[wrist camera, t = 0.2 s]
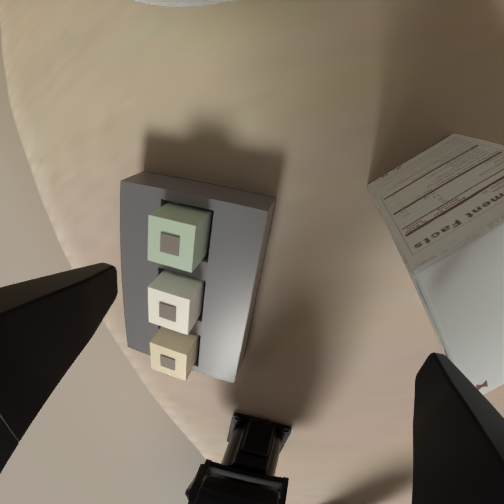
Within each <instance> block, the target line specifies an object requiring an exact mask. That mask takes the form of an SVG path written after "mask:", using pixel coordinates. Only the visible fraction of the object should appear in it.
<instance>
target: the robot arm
mask: <svg viewBox="0 0 504 504" xmlns="http://www.w3.org/2000/svg"><path fill="white" fill-rule="evenodd" d="M117 292H118V288H117V271H116V268H115V267H114V266H112V265H109V264H107V263H98V264H94V265H90V266H86V267H82V268H77V269H73V270H69V271H65V272H61V273H57V274H53V275H49V276H45V277H40V278H37V279H32V280H28V281H25V282H20V283H17V284H13V285H9V286H5V287H1V288H0V473H1V471H2V470H3V468H4V466H5V464H6V463H7V461H8V460H9V458H10V456H11V455H12V453H13V452H14V450H15V448H16V447H17V445H18V442H19V441H20V440H21V438H22V437H23V435H24V434H25V432H26V431H27V429H28V427H29V426H30V424H31V423H32V421H33V420H34V418H35V417H36V415H37V414H38V412H39V411H40V409H41V408H42V406H43V405H44V403H45V402H46V400H47V399H48V397H49V396H50V395H51V393H52V392H53V390H54V389H55V387H56V386H57V385H58V383H59V382H60V380H61V379H62V377H63V376H64V375H65V373H66V372H67V370H68V369H69V368H70V366H71V365H72V364H73V362H74V361H75V359H76V358H77V357H78V355H79V354H80V353H81V351H82V350H83V349H84V347H85V346H86V345H87V343H88V342H89V340H90V339H91V338H92V336H93V335H94V333H95V331H96V330H97V328H98V327H99V325H100V323H101V322H102V320H103V318H104V317H105V315H106V313H107V312H108V310H109V308H110V307H111V305H112V304H113V302H114V300H115V299H116V296H117ZM290 433H291V427H290V426H286V425H282V424H278V423H273V422H269V421H265V420H261V419H257V418H253V417H250V416H246V415H242V414H239V413H234V414H233V417H232V421H231V425H230V430H229V434H228V438H227V441H228V442H229V443H228V446H227V449H226V452H225V455H224V457H223V460H222V463H221V464H219V463H216V462H212V461H211V460H208V459H207V460H206V462H205V464H201V465H200V467H199V470H198V472H197V474H196V477H195V478H194V480H193V481H192V483H191V484H190V485H189V487H188V488H187V490H186V493H185V494H186V496H187V498H188V504H285V501H286V494H287V487H288V480H289V478H286V477H283V478H282V477H276V476H274V475H275V470H276V466H277V462H278V457H279V453H280V452H281V450H282V448H283V446H284V444H285V442H286V440H287V438H288V437H289V435H290ZM412 504H504V418H503V417H502V416H501V415H500V413H499V412H498V411H497V410H496V409H495V408H494V407H493V406H492V404H491V403H490V402H489V401H488V400H487V399H486V398H485V397H484V396H483V395H482V393H481V392H480V391H479V390H478V389H477V388H476V387H475V386H474V385H473V384H472V383H471V382H470V381H469V379H468V378H467V377H466V376H465V375H464V374H463V373H462V372H461V371H460V370H459V369H458V368H457V367H456V366H455V365H454V364H453V363H452V362H451V361H450V360H449V358H448V357H447V356H446V355H444V354H439V353H431V354H430V355H429V356H428V358H427V359H426V361H425V362H424V364H423V365H422V367H421V369H420V370H419V372H418V373H417V376H416V379H415V400H414V417H413V491H412Z"/></svg>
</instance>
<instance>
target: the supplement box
mask: <svg viewBox="0 0 504 504" xmlns="http://www.w3.org/2000/svg"><path fill="white" fill-rule="evenodd" d="M367 187H368V190H369V192H370V194H371V196H372V197H373V199H374V201H375V203H376V205H377V207H378V209H379V211H380V213H381V215H382V217H383V219H384V221H385V223H386V225H387V227H388V229H389V231H390V233H391V235H392V238H393V240H394V242H395V244H396V246H397V249H398V251H399V253H400V255H401V257H402V259H403V262H404V264H405V266H406V268H407V270H408V273H409V275H410V277H411V279H412V281H413V283H414V286H415V288H416V290H417V292H418V295H419V297H420V299H421V301H422V304H423V306H424V308H425V310H426V313H427V315H428V317H429V319H430V322H431V324H432V326H433V329H434V331H435V334H436V336H437V338H438V341H439V343H440V345H441V348H442V350H443V353H444V355H446V356H447V357H448V358H449V360H450V361H451V362H452V363H453V364H454V365H455V366H456V367H457V368H458V369H459V370H460V371H461V372H462V373H463V374H464V375H465V376H466V377H467V378H468V379H469V381H470V382H471V383H472V384H473V385H474V386H475V387H476V388H477V389H478V390H479V391H480V392H481V393H482V395H484V394H486V393H487V392H489V391H491V390H493V389H495V388H497V387H499V386H501V385H502V384H504V145H502V144H498V143H494V142H490V141H486V140H482V139H477V138H473V137H469V136H464V135H459V134H452V135H450V136H449V137H447V138H445V139H444V140H442V141H440V142H439V143H437V144H435V145H434V146H432V147H430V148H429V149H427V150H425V151H424V152H422V153H420V154H419V155H417V156H415V157H413V158H412V159H410V160H408V161H407V162H405V163H403V164H402V165H400V166H398V167H396V168H395V169H393V170H391V171H390V172H388V173H386V174H385V175H383V176H381V177H380V178H378V179H376V180H374V181H373V182H371V183H370V184H368V185H367Z"/></svg>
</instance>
